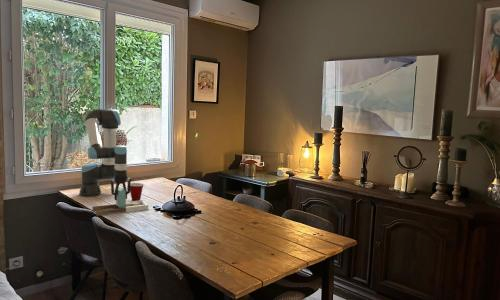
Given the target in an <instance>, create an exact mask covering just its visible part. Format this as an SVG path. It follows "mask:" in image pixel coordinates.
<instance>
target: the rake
mask: <svg viewBox="0 0 500 300" xmlns="http://www.w3.org/2000/svg"><path fill="white" fill-rule="evenodd" d="M126 190H127V189H126ZM126 190H125V189H124V188H123V187H119V188H118V192H117V195H118V207H122V208H125V207H126V202H127V199H126Z"/></svg>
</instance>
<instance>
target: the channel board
mask: <svg viewBox="0 0 500 300" xmlns="http://www.w3.org/2000/svg"><path fill="white" fill-rule="evenodd" d="M92 212H95V216H97V217H98V216H106V215H112V214H121V213H127V212H126V208H125V207H118V205H116V203H114V204H113V203H112V204H105V205H94V206H92Z"/></svg>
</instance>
